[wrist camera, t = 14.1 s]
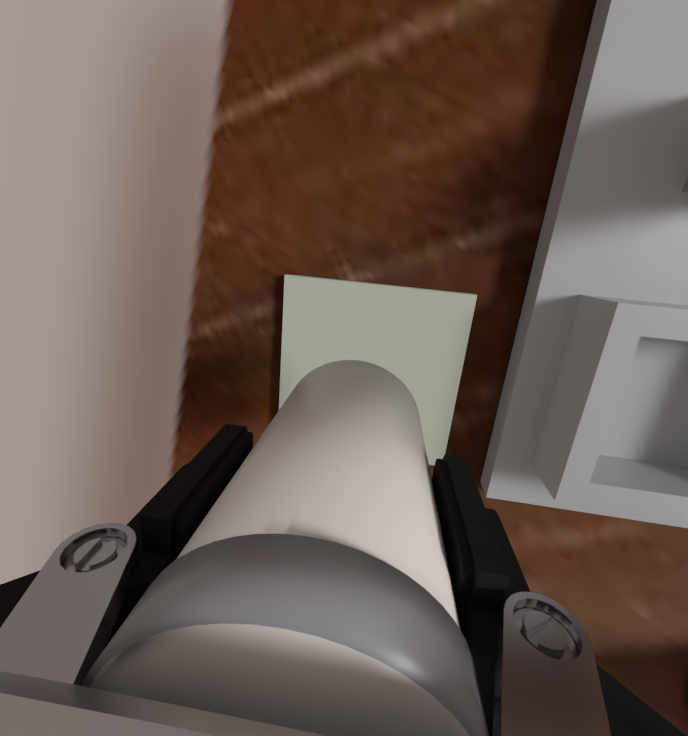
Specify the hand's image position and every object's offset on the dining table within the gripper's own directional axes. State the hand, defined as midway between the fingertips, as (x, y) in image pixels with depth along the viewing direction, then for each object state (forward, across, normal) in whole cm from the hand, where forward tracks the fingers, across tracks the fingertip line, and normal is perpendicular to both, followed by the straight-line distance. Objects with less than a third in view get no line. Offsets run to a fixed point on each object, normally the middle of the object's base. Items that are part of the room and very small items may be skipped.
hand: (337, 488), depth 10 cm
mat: (+11, 0, 0) cm, 11 cm away
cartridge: (+4, 0, 0) cm, 4 cm away
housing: (+11, -14, -6) cm, 19 cm away
